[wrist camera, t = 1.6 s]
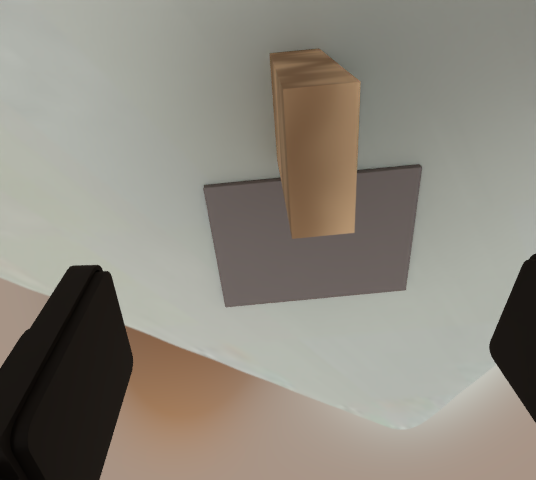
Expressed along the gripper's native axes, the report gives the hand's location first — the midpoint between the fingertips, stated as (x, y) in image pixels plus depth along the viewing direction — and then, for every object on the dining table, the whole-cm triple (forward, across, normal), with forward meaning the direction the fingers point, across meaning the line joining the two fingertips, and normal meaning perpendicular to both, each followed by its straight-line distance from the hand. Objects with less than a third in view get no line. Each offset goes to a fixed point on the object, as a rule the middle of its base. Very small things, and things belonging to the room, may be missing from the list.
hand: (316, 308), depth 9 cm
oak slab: (+24, -2, +1) cm, 24 cm away
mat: (+24, -4, +13) cm, 27 cm away
